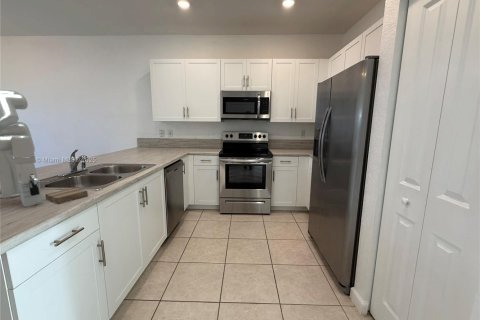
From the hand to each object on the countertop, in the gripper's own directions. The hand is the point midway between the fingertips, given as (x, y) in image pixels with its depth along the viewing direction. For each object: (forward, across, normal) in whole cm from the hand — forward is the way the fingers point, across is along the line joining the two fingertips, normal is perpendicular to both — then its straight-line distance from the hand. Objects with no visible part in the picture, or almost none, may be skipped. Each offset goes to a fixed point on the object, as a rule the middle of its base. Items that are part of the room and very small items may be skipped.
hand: (31, 193), depth 113 cm
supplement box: (+6, -1, 0) cm, 6 cm away
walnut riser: (+6, +5, +13) cm, 15 cm away
